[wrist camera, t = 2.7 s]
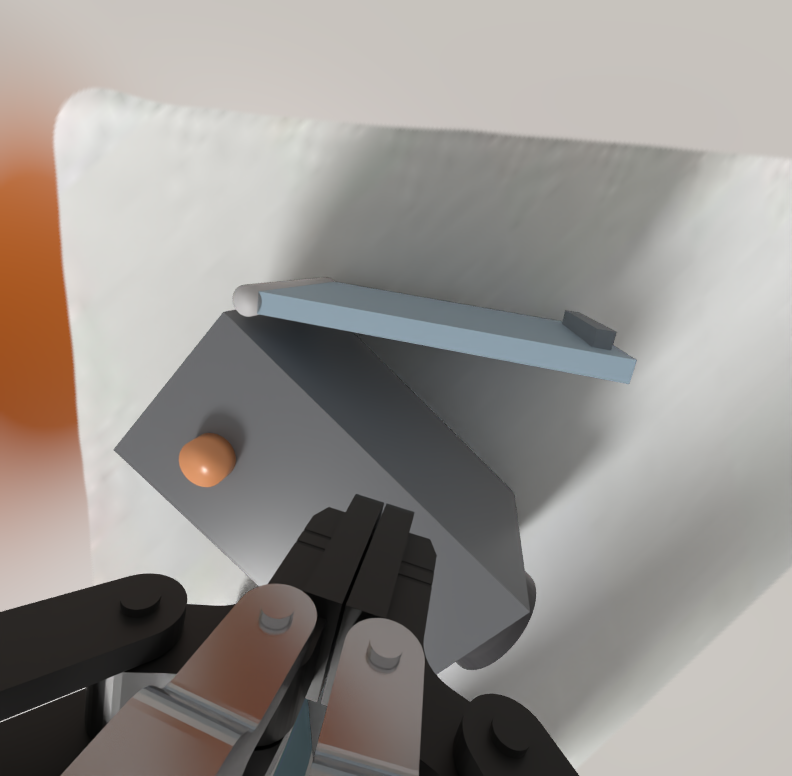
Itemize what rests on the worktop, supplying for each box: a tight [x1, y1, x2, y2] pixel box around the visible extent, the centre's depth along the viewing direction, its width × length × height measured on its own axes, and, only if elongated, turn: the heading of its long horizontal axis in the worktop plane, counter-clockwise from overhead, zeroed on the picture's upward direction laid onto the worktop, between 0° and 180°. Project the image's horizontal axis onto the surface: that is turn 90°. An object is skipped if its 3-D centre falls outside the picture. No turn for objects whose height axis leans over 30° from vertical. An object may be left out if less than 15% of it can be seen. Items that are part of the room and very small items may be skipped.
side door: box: [233, 277, 637, 384], centre depth 25 cm, size 17×2×11 cm, turn 81°
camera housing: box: [114, 310, 536, 674], centre depth 28 cm, size 23×10×13 cm, turn 46°
